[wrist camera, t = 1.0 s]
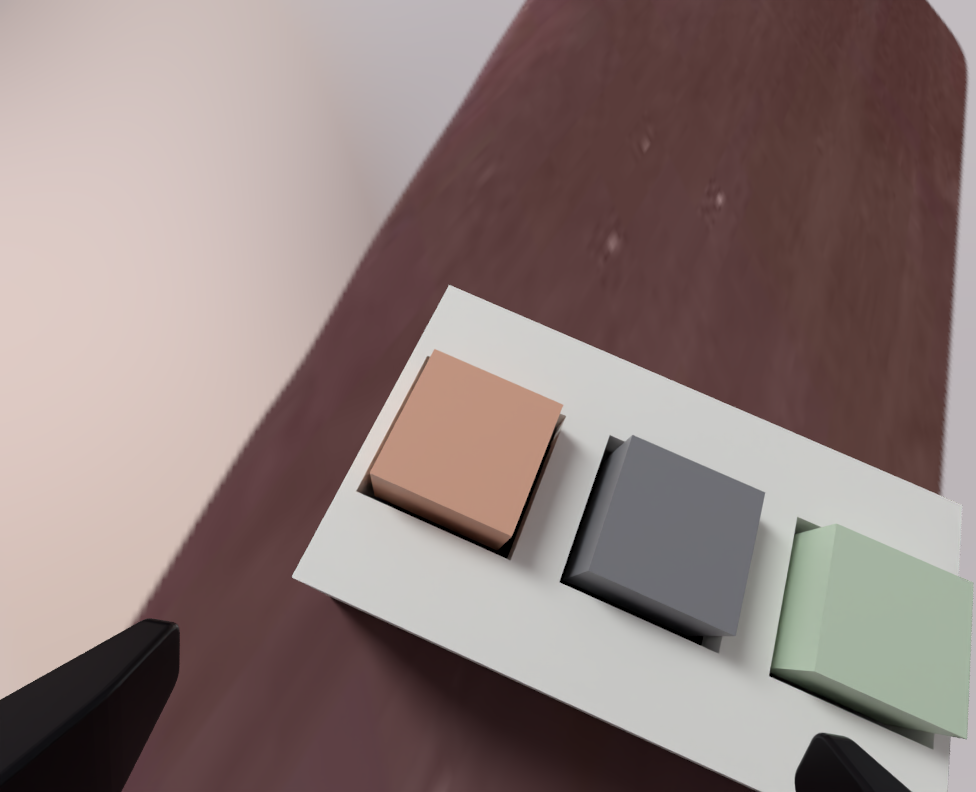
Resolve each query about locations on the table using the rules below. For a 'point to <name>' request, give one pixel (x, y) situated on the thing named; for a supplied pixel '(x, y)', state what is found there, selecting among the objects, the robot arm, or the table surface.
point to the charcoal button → (668, 539)
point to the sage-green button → (876, 631)
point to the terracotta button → (465, 450)
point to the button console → (597, 625)
